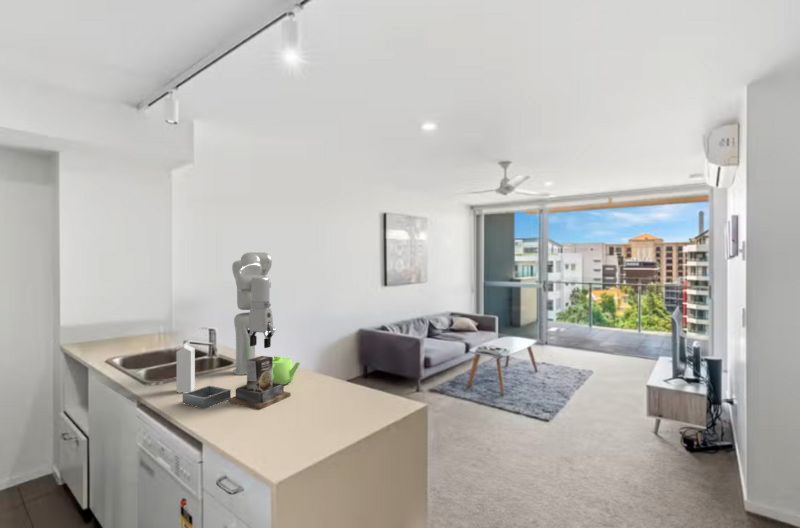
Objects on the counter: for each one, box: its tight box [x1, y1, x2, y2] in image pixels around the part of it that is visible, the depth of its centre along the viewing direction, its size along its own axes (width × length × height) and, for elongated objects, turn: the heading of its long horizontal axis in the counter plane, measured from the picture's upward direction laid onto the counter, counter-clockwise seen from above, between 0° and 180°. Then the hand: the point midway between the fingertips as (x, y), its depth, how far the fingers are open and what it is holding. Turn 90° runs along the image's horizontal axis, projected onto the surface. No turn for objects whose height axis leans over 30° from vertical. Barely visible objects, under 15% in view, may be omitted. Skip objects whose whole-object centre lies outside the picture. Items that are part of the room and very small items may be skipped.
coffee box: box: [246, 355, 274, 393], centre depth 174 cm, size 9×6×16 cm
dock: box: [227, 382, 292, 410], centre depth 174 cm, size 18×18×6 cm
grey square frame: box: [182, 385, 232, 410], centre depth 171 cm, size 13×13×4 cm
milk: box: [176, 341, 196, 393], centre depth 184 cm, size 6×6×22 cm
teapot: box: [272, 355, 301, 385], centre depth 197 cm, size 18×20×13 cm
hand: (260, 346), depth 174 cm, fingers open, 7 cm apart
